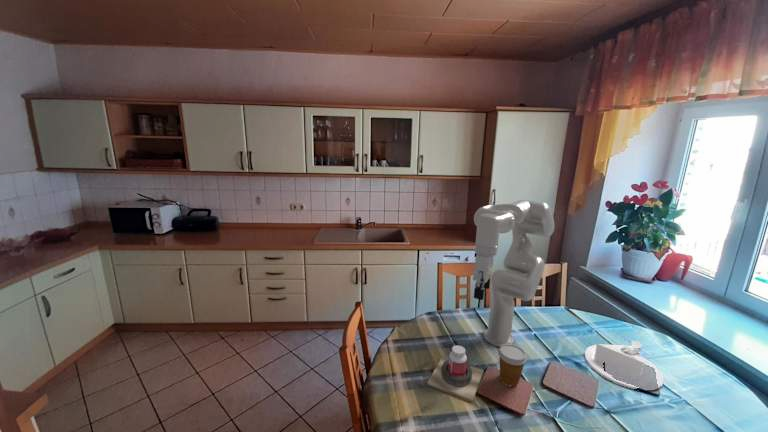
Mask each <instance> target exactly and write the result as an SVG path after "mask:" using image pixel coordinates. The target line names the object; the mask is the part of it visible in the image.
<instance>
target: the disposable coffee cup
mask: <svg viewBox="0 0 768 432" xmlns="http://www.w3.org/2000/svg"><path fill="white" fill-rule="evenodd" d="M497 352H498V353H497V354H498V356H499V379H500V378H501V380H502V382H504V383H505V384H507V385H511V386H514V387H516V386H515V385H517V384H518V385H519V382H520V380H521V376H522V373H523V370H524V366H525V363H526V362H527V361H528V357H527V354H526V351H525V350H524V349H523V348H522V347H520V346H518V345H516V344H513V345H512V344H505V345H502V346H501V347H499V348H498V350H497ZM501 380H500V381H501ZM502 382H501V383H502ZM504 383H503V384H504ZM505 384H504V385H505ZM507 385H506V386H507ZM518 385H517V386H518ZM511 386H510V387H511Z"/></svg>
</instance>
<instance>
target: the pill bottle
mask: <svg viewBox="0 0 768 432" xmlns="http://www.w3.org/2000/svg"><path fill="white" fill-rule="evenodd" d="M448 358H449V367H448V372H449V373H450V374H451V375H453V376H456V377H463V376H465V374H466V363H467V361H468V356H467V355H466V349H465V347H464V346H462V345H453V346H452V347H451V352H449V355H448ZM467 364H468V363H467Z"/></svg>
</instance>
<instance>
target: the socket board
mask: <svg viewBox="0 0 768 432" xmlns="http://www.w3.org/2000/svg"><path fill="white" fill-rule="evenodd" d="M448 367H449V357H446V356H441V357H440V360H439V361H438V363H437V365H436V367H435V368H434V370H433V372H432V373H431V375H430V377H429V379H428V381H427V385H428V386H430V387H433V388H435V389H438V390H440V391H442V392H445V393H446V394H447V393H448V394H450V395H452V396H455V397H458V398H460V399H462V400H465V401H467V402H470V403H473V402H474V400H475V396H476V394H477V391H478V389H479V385H480V383H481V380H482V378H483V375H484V370H483V369H481V368H478V367H476V366H472V365H469V364H468V363H466V374H465V376H463V377H456V376H453V375H451V374H450V373H449V372H448Z"/></svg>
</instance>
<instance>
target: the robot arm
mask: <svg viewBox="0 0 768 432" xmlns="http://www.w3.org/2000/svg"><path fill="white" fill-rule="evenodd" d="M473 222H474V225H475V226H476V235H475V246H474V253H475V254H476V256H475V261H474V267H473V274H472V280H473V282H474V281H475V285H474V289H473V291H474V292H473V298H474V299H475V300H479V301H480V300H481V301H483V300H484V296H485V289H486V290H489V289H490V287H491V295H490V296H491V298H490V307H489V315H488V316H489V317H488V325H487V329H485V330H484V332H483V338H484V340H485V341H486V342H487V343H488V344H491V345H492V346H495V347H497V348H498V347H499V348H500V347H501V346H502V345H505V344H512V345H514V343H515V338H514V335H512V329H513V320H514V313H515V300H514V299H519V300H522V301H525V302H529V301H531V300H532V299H533V298H534V297H535V295H536V292H537V290H538V287H539V285H540V282H541V280H542V278H543V274H544V272H545V268H546V267H545V265H546V264H545V260H544V259H543V258H542V257H540V256H538V255H535V254H532V253H531V252H532V251H533V243H532V242H531V240H530V238H529V237H528V235H533V236H537V237H543V238H549V237H551V236H552V235H553V233H554V231H555V220H554V217H553V213H552V209H551V207H550V206H549V204H547V203H546V202H543V201H537V200H535V201H534V200H528V199H520V200H517V201H515V202H511V203H501V204H487V205H483V206H481V207H479V208H478V209H477V210H476V211H475V213H474V215H473ZM511 231H512V232H511ZM509 232H511V233H512V234H511V235H512V242H511V244H510V246H509V249H508V251H507V253H506V255H505V258H504V259H503V268H504V269H505V270H504V269H497V270H495V271H494V272H493V265H494V257H496V256H497V254H498V248H499V247H498V246H499V237H500V234H506V233H507V234H508V233H509ZM527 234H528V235H527Z"/></svg>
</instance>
